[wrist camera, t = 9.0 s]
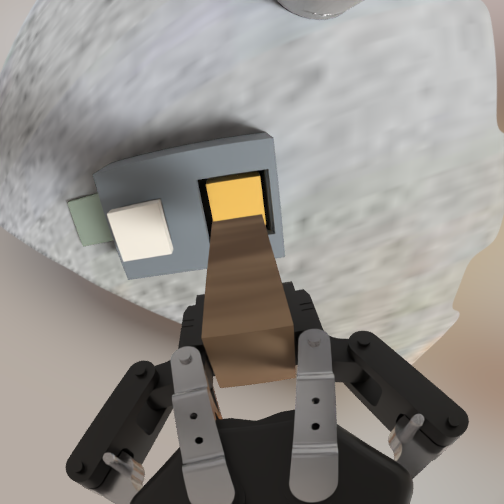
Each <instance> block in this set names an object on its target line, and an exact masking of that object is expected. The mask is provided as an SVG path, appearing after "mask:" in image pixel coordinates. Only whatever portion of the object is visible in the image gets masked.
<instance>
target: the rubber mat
mask: <svg viewBox="0 0 504 504" xmlns="http://www.w3.org/2000/svg"><path fill="white" fill-rule="evenodd" d="M68 206H69V209H70V212H71V215H72V218H73V220H74V223H75V226H76V229H77V232H78V234H79V237H80V240H81V242H82V245H83V247H84V246H89V245H94V244H99V243H104V242H109V241H113V238H112V235H111V232H110V230H109V227H108V224H107V221H106V218H105V214H104V211H103V208H102V205H101V202H100V198H99V195H98V193H96V194H93V195H89V196H86V197H82V198H79V199H75V200H72V201H69V202H68Z"/></svg>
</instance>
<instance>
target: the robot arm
mask: <svg viewBox="0 0 504 504" xmlns="http://www.w3.org/2000/svg"><path fill="white" fill-rule="evenodd" d="M277 1H278V2H279V3H280V4H281V5H282V6H283V7H284V8H286V9H288V10H289V11H291V12H292V13H295V14H297V15H299V16H302V17H306V18H309V19H317V20H322V19H330V18H335V17H337V16H339V15H341V14H343V13H344V12H346V11H347V10H349V9H350V8H352V7H354V6H355V5H357V4H359V3H360V2H362V1H364V0H277ZM282 285H283V289H284V292H285V296H286V300H287V303H288V307H289V310H290V314H291V318H292V321H293V325H294V346H295V365H298V373H297V385H296V405H295V410H290V411H284V412H280V413H277V414H274V415H272V416H269V417H267V418H264V419H261V420H258V421H251V420H243V419H234V418H228V419H223V418H222V415H221V412H220V408H219V405H218V401H217V397H216V394H215V390H214V387H213V376H215V373H214V371H213V368H212V365H211V363H210V360H209V357H208V355H207V352H206V349H205V347H204V344H203V341H202V324H203V311H204V299H205V294H202V295H197V297H196V305H193V306H188V308H187V309H186V310H185V312H184V314H183V320H182V321H183V322H182V328H181V334H180V341H179V348H178V350H176V351H175V352H174V353H173V354H172V356H171V360H170V361H168V362H165V363H162V364H159V365H156V366H154V365H153V364H152V363H151V362H149V361H139V362H137V363H135V364H133V365H132V366H131V367H130V368H129V370H128V371H127V373H126V374H125V375H124V377H123V378H122V380H121V381H120V383H119V384H118V386H117V387H116V388H115V390H114V391H113V393H112V394H111V396H110V397H109V398H108V400H107V401H106V403H105V404H104V406H103V407H102V409H101V410H100V412H99V413H98V415H97V416H96V418H95V419H94V421H93V422H92V424H91V425H90V427H89V428H88V430H87V431H86V433H85V434H84V436H83V437H82V439H81V440H80V442H79V443H78V445H77V446H76V448H75V449H74V451H73V452H72V454H71V455H70V457H69V459H68V460H67V463H66V472H67V474H68V476H69V477H70V478H71V479H72V480H73V481H75V482H77V483H79V484H80V485H82V486H83V487H84V488H86V489H88V490H90V491H92V492H94V493H97V494H98V495H101V496H104V497H105V498H107V499H108V500H110V501H111V502H113V503H115V504H410V501H411V498H412V494H413V481H412V479H413V478H414V477H415V476H416V475H417V474H418V473H420V472H421V471H422V470H423V468H425V467H426V466H427V465H428V464H429V463H430V462H431V461H433V460H435V459H436V458H437V457H438V456H440V455H441V454H442V453H443V452H444V451H445V450H446V449H447V448H448V447H449V446H451V445H452V444H453V443H454V442H455V441H456V440H457V439H458V438H459V437H460V436H461V435H462V434H463V433H464V432H465V431H466V429H467V427H468V423H469V421H468V416H467V414H466V412H465V411H464V410H463V409H462V408H461V407H460V406H458V405H457V404H456V403H455V402H454V401H453V400H451V399H450V398H449V397H448V396H447V395H446V394H445V393H443V392H442V391H441V390H440V389H439V388H437V387H436V386H435V385H434V384H433V383H432V382H430V381H429V380H428V379H427V378H426V377H424V376H423V375H422V374H421V373H420V372H419V371H417V370H416V369H415V368H414V367H413V366H412V365H410V364H409V363H408V362H407V361H406V360H404V359H403V358H402V357H401V356H400V355H399V354H397V353H396V352H395V351H394V350H393V349H391V348H390V347H389V346H388V345H387V344H385V343H384V342H383V341H382V340H381V339H379V338H378V337H377V336H376V335H375V334H373V333H371V332H368V331H358V332H355V333H354V334H352V335H351V336H350V338H349V339H339V338H334V337H331V336H329V335H328V334H327V333H326V332H325V331H324V330H323V328H322V326H321V323H320V320H319V318H318V315H317V312H316V310H315V307H314V304H313V302H312V299H311V297H310V295H309V294H308V293H307V292H306V291H305V290H304V289H303V290H297V291H295V289H294V286H293V283H292V281H291V282H285V283H282ZM335 382H343V383H344V384H345V385H346V386H347V387H348V388H349V389H350V391H352V393H353V394H354V395H355V396H356V397H357V398H358V399H359V400H360V401H361V402H362V403H363V404H364V405H365V406H366V407H367V408H368V409H369V410H370V411H371V412H372V413H373V414H374V415H375V416H376V417H377V418H378V419H379V420H380V421H381V422H382V424H383V425H384V426H386V428H387V429H388V430H390V432H391V433H390V435H389V438H388V442H389V445H390V447H391V449H392V450H393V452H394V460H393V459H391V458H389V457H388V456H386V455H384V454H382V453H381V452H379V451H378V450H376V449H375V448H373V447H371V446H369V445H368V444H367V443H365V442H363V441H362V440H360V439H359V438H357V437H356V436H354V435H353V434H351V433H350V432H348V431H347V430H345V429H344V428H342V427H341V426H339V425H338V424H337V422H336V421H337V420H336V396H335ZM172 409H174V415H175V422H176V428H177V434H178V439H179V445H180V447H179V448H178V450H177V451H176V452H175V453H174V454H173V455H172V456H171V457H170V458H169V460H168V461H167V462H166V463H165V464H164V465H163V466H162V467H161V468H160V469H159V471H157V473H156V474H155V475H154V476H153V477H152V478H151V479H150V480H149V481H148V482H147V483H146V484H145V485H144V486H143V484H142V483H143V481H144V475H145V471H144V468H143V466H142V463H143V461H144V460H145V458H146V456H147V454H148V452H149V451H150V449H151V447H152V445H153V443H154V442H155V440H156V438H157V436H158V434H159V432H160V431H161V429H162V427H163V425H164V424H165V422H166V420H167V418H168V416H169V414H170V413H171V411H172Z"/></svg>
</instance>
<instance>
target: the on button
mask: <svg viewBox="0 0 504 504" xmlns="http://www.w3.org/2000/svg"><path fill="white" fill-rule="evenodd" d="M107 216H108V219H109V222H110V225H111V228H112V231H113V234H114V237H115V240H116V243H117V245H118V248H119V251H120V254H121V256H122V259H123V262H125V261H131V260H137V259H143V258H150V257H156V256H162V255H168V254H172V252H173V246H172V242H171V238H170V235H169V231H168V228H167V224H166V220H165V216H164V212H163V209H162V205H161V201H160V199H158V200H153V201H148V202H144V203H139V204H134V205H130V206H125V207H121V208H116V209H112V210H110V211H109V212H108V213H107Z"/></svg>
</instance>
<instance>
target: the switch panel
mask: <svg viewBox="0 0 504 504" xmlns="http://www.w3.org/2000/svg"><path fill="white" fill-rule="evenodd" d="M257 170H261V173H262V181H263V189H264V198H265V206H266V215H267V223H268V229H267V233H268V236H269V240H270V243H271V247H272V250H273V254H274V257H275V258H281V257H285V251H284V239H283V227H282V216H281V206H280V195H279V185H278V175H277V166H276V157H275V148H274V139H273V137H272V136H270V135H269V134H268V133H266V132H264V133H256V134H248V135H241V136H234V137H227V138H221V139H215V140H209V141H204V142H198V143H193V144H188V145H183V146H178V147H173V148H168V149H164V150H160V151H155V152H151V153H147V154H143V155H139V156H135V157H131V158H127V159H123V160H120V161H116V162H113V163H110V164H109V165H107V166H105V167H104V168H102V169H101V170H99V171H97V172H96V173H94V174H93V177H94V181H95V185H96V188H97V192H98V195H99V198H100V202H101V205H102V208H103V211H104V214H105V218H106V221H107V224H108V227H109V230H110V232H111V235H112V238H113V241H114V244H115V247H116V249H117V252H118V255H119V257H120V260H121V263H122V265H123V268H124V270H125V273H126V275H127V278H128V280H130V279H138V278H145V277H152V276H159V275H166V274H173V273H180V272H187V271H194V270H201V269H207V267H208V257H209V247H210V238H209V234H208V229H207V224H206V220H205V215H204V210H203V205H202V200H201V195H200V191H199V186H198V180H199V179H205V178H211V177H217V176H223V175H229V174H236V173H243V172H249V171H257ZM159 198H161V201H162V205H163V209H164V213H165V217H166V220H167V224H168V228H169V232H170V235H171V236H170V238H171V242H172V246H173V252H172V254H168V255H162V256H156V257H150V258H143V259H137V260H131V261H125V262H123V259H122V256H121V254H120V251H119V248H118V245H117V243H116V240H115V237H114V234H113V231H112V228H111V225H110V222H109V219H108V216H107V213H108V212H109V211H110V210H112V209H116V208H121V207H125V206H130V205H131V204H135V203H140V202H144V201H149V200H154V199H159Z"/></svg>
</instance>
